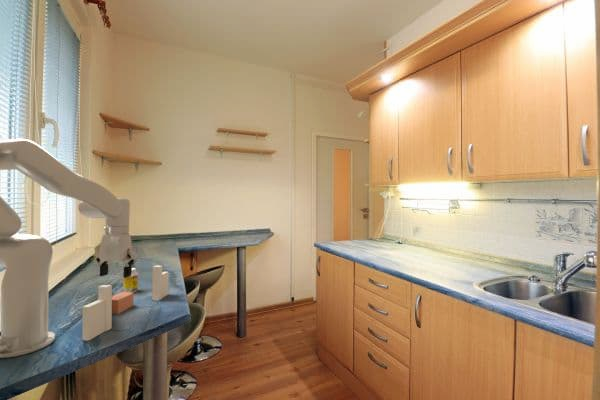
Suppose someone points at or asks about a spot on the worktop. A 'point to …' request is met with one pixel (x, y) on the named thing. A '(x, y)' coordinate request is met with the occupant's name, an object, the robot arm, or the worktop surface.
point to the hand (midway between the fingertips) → (115, 276)
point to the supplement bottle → (131, 282)
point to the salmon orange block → (122, 302)
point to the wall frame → (100, 311)
